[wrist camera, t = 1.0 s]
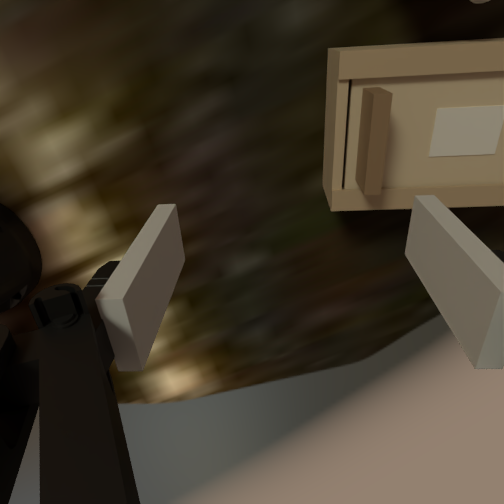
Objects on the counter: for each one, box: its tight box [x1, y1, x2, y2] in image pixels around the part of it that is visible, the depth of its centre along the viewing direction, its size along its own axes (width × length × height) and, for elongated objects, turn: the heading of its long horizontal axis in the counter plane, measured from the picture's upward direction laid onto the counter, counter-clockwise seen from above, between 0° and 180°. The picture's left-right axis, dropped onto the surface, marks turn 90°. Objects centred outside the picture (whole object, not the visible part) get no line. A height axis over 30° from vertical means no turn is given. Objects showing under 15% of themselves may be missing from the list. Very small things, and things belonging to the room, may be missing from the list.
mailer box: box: [323, 38, 504, 211], centre depth 31 cm, size 16×12×6 cm
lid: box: [344, 71, 504, 195], centre depth 28 cm, size 14×10×4 cm
